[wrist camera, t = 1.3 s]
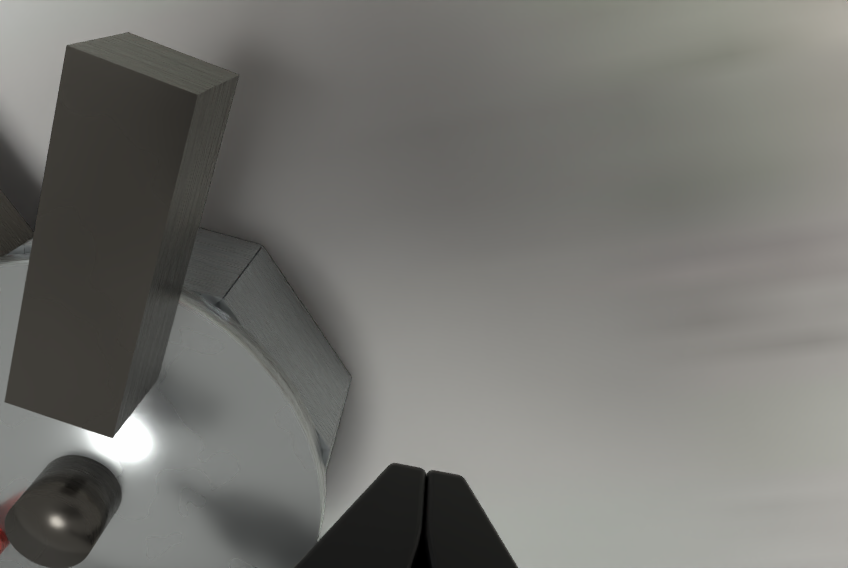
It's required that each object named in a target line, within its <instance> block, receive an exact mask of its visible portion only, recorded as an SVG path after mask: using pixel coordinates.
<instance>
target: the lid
mask: <svg viewBox="0 0 848 568" xmlns="http://www.w3.org/2000/svg"><path fill="white" fill-rule="evenodd" d="M238 78H239V74H236V73H233V72H231V71H228V70H226V69H223V68H220V67H218V66H215V65H212V64H210V63H207V62H205V61H202V60H199V59H197V58H194V57H192V56H189V55H186V54H184V53H181V52H178V51H176V50H173V49H171V48H168V47H165V46H163V45H160V44H157V43H155V42H152V41H150V40H147V39H144V38H142V37H139V36H137V35H134V34H131V33H129V32H128V33H123V34H118V35H114V36H109V37H104V38H99V39H94V40H90V41H85V42H80V43H75V44H71V45H67V47H66V52H65V58H64V64H63V70H62V75H61V81H60V87H59V92H58V98H57V104H56V110H55V115H54V121H53V127H52V132H51V138H50V144H49V150H48V155H47V161H46V167H45V173H44V178H43V184H42V190H41V195H40V201H39V207H38V213H37V218H36V224H35V230H34V235H33V241H32V247H31V253H24V254H12V255H7V256H3V257H0V568H294V567H295V566H296V565H297V564H298V563H299V562H300V560H301V559H302V558H303V557H304V556H305V555H306V554H307V553H308V552H309V551H310V550H311V549H312V548H313V546H314V545H315V544H316V543H317V540H318V536H319V533H320V529H321V525H322V522H323V516H324V508H325V501H326V472H325V466H324V460H323V455H322V449H321V444H320V441H319V438H318V435H317V432H316V430H315V427H314V424H313V421H312V418H311V416H310V414H309V412H308V410H307V408H306V406H305V404H304V402H303V400H302V398H301V396H300V394H299V392H298V391H297V389H296V388H295V386H294V385H293V383H292V382H291V380H290V379H289V377H288V376H287V374H286V373H285V371H284V370H283V368H282V367H281V366H280V365H279V363H278V362H277V361H276V360H275V359H274V358H273V356H272V355H271V354H270V353H269V352H268V351H267V350H266V348H265V347H264V346H263V345H262V344H261V343H260V342H259V341H258V340H257V339H256V338H255V337H254V336H253V335H252V334H250V333H249V332H248V331H247V330H246V329H245V328H244V327H243V326H242V325H241V324H239V323H238V322H237V321H236V320H235V319H233V318H232V317H231V316H229V315H228V314H227V313H225V312H224V311H222V310H221V309H220V308H218V307H217V306H215V305H214V304H213V303H211V302H210V301H208V300H207V299H205V298H203V297H201V296H200V295H198V294H196V293H194V292H193V291H191V290H189V289H187V288H185V287H184V286H183V284H184V280H185V277H186V273H187V269H188V265H189V262H190V258H191V254H192V250H193V247H194V243H195V239H196V235H197V232H198V228H199V224H200V220H201V217H202V213H203V209H204V205H205V201H206V198H207V194H208V190H209V186H210V183H211V179H212V175H213V171H214V168H215V164H216V160H217V156H218V153H219V149H220V145H221V141H222V138H223V134H224V130H225V126H226V123H227V119H228V115H229V111H230V108H231V104H232V100H233V96H234V93H235V89H236V85H237V81H238Z"/></svg>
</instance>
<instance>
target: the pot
mask: <svg viewBox="0 0 848 568" xmlns="http://www.w3.org/2000/svg"><path fill="white" fill-rule="evenodd" d="M33 235H34V232H33V231H32V230H31V228H30V227H29V226H28V224H27V223H26V222H25V221H24V219H23V218H22V217H21V215H20V214H19V213H18V212H17V210H16V209H15V208H14V206H13V205H12V204H11V203H10V201H9V200H8V199H7V197H6V196H5V195H4V194H3V192H2V191H1V190H0V257H3V256H7V255H12V254H24V253H31V247H32V241H33ZM183 286H184V287H185V288H187V289H189V290H191V291H193V292H194V293H196V294H198V295H200V296H201V297H203V298H205V299H207V300H208V301H210V302H211V303H213V304H214V305H215V306H217V307H218V308H220V309H221V310H222V311H224V312H225V313H227V314H228V315H229V316H231V317H232V318H233V319H235V320H236V321H237V322H238V323H239V324H241V325H242V326H243V327H244V328H245V329H246V330H247V331H248V332H249V333H250V334H252V335H253V336H254V337H255V338H256V339H257V340H258V341H259V342H260V343H261V344H262V345H263V346H264V347H265V348H266V350H267V351H268V352H269V353H270V354H271V355H272V356H273V358H274V359H275V360H276V361H277V362H278V363H279V365H280V366H281V367H282V368H283V370H284V371H285V373H286V374H287V376H288V377H289V379H290V380H291V382H292V383H293V385H294V386H295V388H296V389H297V391H298V392H299V394H300V396H301V398H302V400H303V402H304V404H305V406H306V408H307V410H308V412H309V414H310V416H311V418H312V421H313V424H314V427H315V430H316V432H317V435H318V438H319V441H320V444H321V449H322V455H323V460H324V466H325V472H326V470H327V467H328V463H329V459H330V456H331V452H332V448H333V445H334V441H335V437H336V433H337V430H338V426H339V422H340V419H341V415H342V411H343V408H344V404H345V400H346V397H347V393H348V389H349V386H350V382H351V376H350V374H349V373H348V371H347V370H346V368H345V367H344V365H343V364H342V362H341V361H340V359H339V358H338V356H337V355H336V353H335V352H334V351H333V349H332V348H331V346H330V345H329V343H328V342H327V340H326V339H325V337H324V336H323V334H322V333H321V331H320V330H319V328H318V327H317V325H316V324H315V322H314V321H313V319H312V318H311V316H310V315H309V313H308V312H307V310H306V309H305V307H304V306H303V304H302V303H301V302H300V300H299V299H298V297H297V296H296V294H295V293H294V291H293V290H292V288H291V287H290V285H289V284H288V282H287V281H286V279H285V278H284V276H283V275H282V273H281V272H280V270H279V269H278V267H277V266H276V264H275V263H274V261H273V260H272V258H271V257H270V255H269V254H268V253H267V251H266V250H265V248H264V247H263V246H262V245H259V244H256V243H252V242H249V241H245V240H241V239H238V238H234V237H231V236H227V235H223V234H220V233H216V232H212V231H209V230H205V229H202V228H198V232H197V235H196V239H195V243H194V247H193V250H192V254H191V258H190V262H189V265H188V269H187V273H186V277H185V280H184V284H183Z"/></svg>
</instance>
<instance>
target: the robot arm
mask: <svg viewBox="0 0 848 568" xmlns="http://www.w3.org/2000/svg"><path fill="white" fill-rule="evenodd" d="M294 568H518V567H517V565H516V563H515V562H514V560H513V558H512V557H511V555H510V553H509V552H508V550H507V548H506V547H505V545H504V543H503V542H502V540H501V538H500V537H499V535H498V533H497V532H496V530H495V528H494V527H493V525H492V523H491V522H490V520H489V518H488V517H487V515H486V513H485V512H484V510H483V508H482V507H481V505H480V503H479V502H478V500H477V498H476V497H475V495H474V493H473V492H472V490H471V488H470V487H469V485H468V483H467V482H466V480H465V479H464V478H463V477H462V476H460V475H456V474H451V473H446V472H440V471H435V470H431V471H429V472H428V473H427V475H426V472H425V470H423V469H422V468H419V467H414V466H409V465H403V464H398V463H392V464H390V465H389V466H388V467H387V468H386V469H385V470H384V471H383V472H382V473H381V474H380V475H379V476H378V478H377V479H376V480H375V481H374V482H373V483H372V484H371V485H370V486H369V487H368V488H367V489H366V490H365V492H364V493H363V494H362V495H361V496H360V497H359V498H358V499H357V500H356V501H355V502H354V503H353V504H352V506H351V507H350V508H349V509H348V510H347V511H346V512H345V513H344V514H343V515H342V516H341V517H340V518H339V520H338V521H337V522H336V523H335V524H334V525H333V526H332V527H331V528H330V529H329V530H328V531H327V532H326V534H325V535H324V536H323V537H322V538H321V539H320V540H319V541H318V542H317V543H316V544H315V545H314V546H313V548H312V549H311V550H310V551H309V552H308V553H307V554H306V555H305V556H304V557H303V558H302V559H301V560H300V562H299V563H298V564H297V565H296V566H295V567H294Z"/></svg>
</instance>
